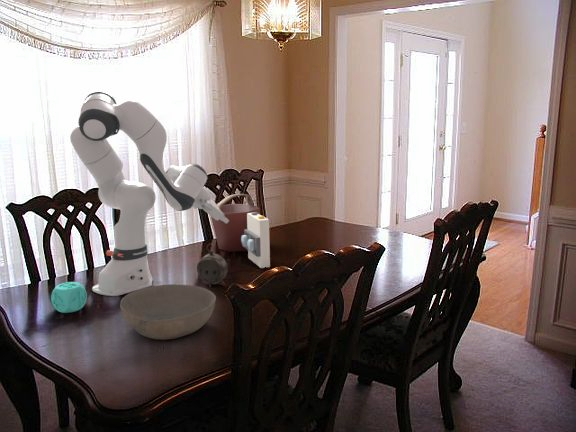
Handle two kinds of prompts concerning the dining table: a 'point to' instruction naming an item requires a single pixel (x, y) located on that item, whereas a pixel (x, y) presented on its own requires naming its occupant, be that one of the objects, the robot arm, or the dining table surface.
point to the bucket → (233, 223)
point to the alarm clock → (212, 268)
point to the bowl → (168, 310)
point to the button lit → (251, 245)
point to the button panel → (258, 239)
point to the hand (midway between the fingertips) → (225, 218)
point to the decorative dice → (69, 297)
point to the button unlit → (244, 240)
